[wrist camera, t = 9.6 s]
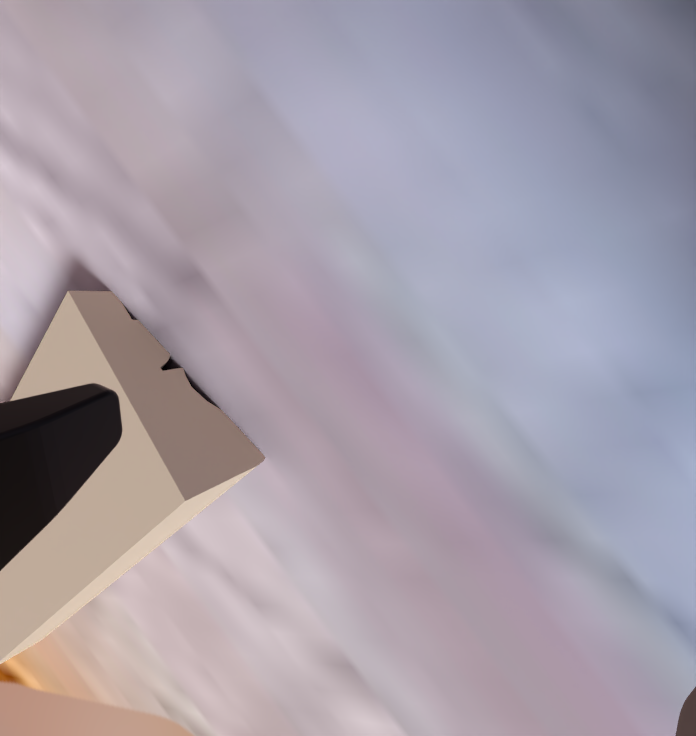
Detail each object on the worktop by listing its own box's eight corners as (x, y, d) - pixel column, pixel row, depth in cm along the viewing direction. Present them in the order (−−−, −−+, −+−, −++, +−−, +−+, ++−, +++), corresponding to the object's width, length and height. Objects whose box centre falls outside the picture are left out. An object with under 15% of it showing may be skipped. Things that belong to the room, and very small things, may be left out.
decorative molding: (-3, 522, 52) (52, 633, 50) (-69, 549, 48) (-11, 670, 47) (165, 275, 30) (273, 457, 28) (68, 290, 26) (185, 500, 25)
